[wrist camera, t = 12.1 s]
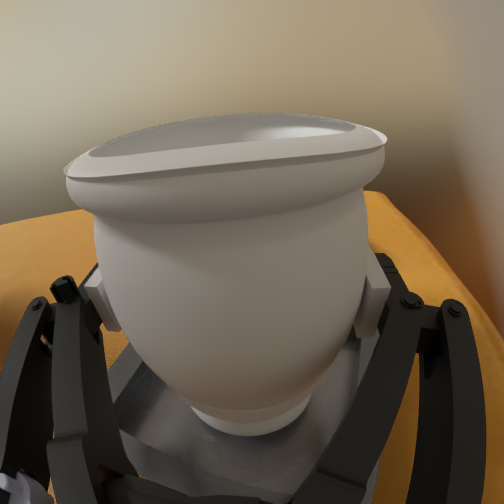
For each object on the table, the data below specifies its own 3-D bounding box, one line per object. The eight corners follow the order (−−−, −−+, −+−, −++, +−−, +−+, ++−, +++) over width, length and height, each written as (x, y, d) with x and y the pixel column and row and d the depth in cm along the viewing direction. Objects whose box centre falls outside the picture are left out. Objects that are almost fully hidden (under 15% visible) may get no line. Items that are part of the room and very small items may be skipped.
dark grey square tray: (91, 441, 13) (69, 425, 11) (194, 292, 27) (188, 268, 26) (347, 531, 8) (363, 533, 6) (376, 323, 22) (385, 299, 20)
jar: (357, 370, 16) (419, 130, 8) (249, 486, 10) (127, 223, 2) (247, 303, 23) (230, 111, 14) (143, 375, 17) (50, 159, 8)
